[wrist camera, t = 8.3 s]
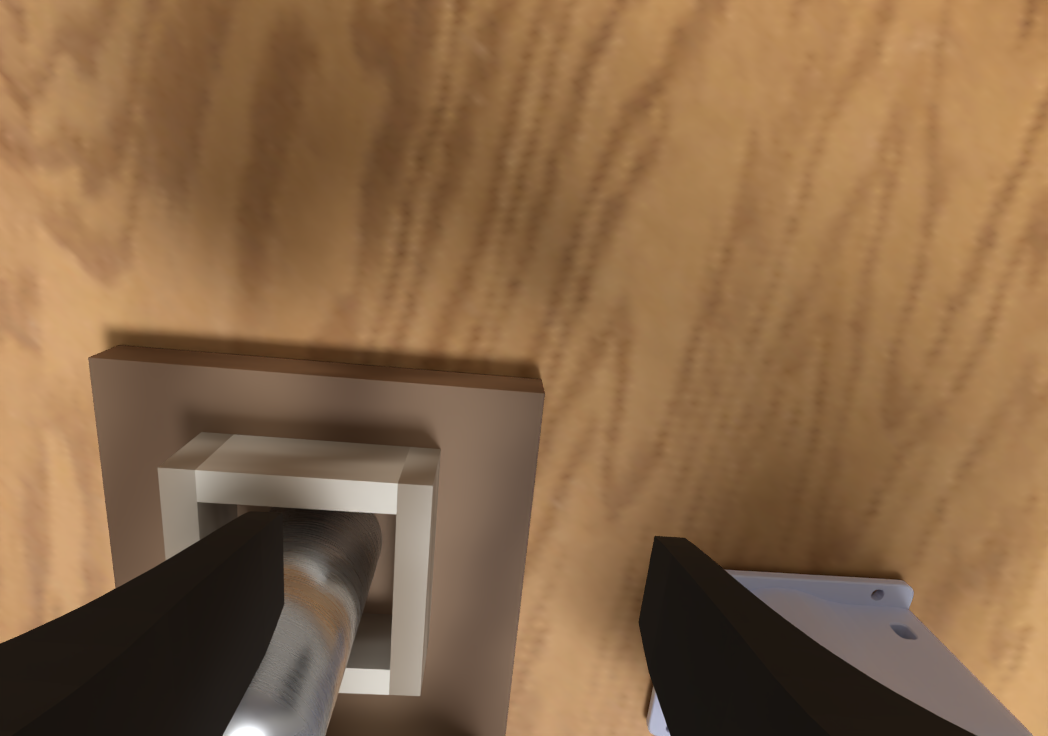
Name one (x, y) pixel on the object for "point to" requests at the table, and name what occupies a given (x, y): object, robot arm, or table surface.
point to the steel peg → (312, 622)
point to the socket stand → (344, 504)
